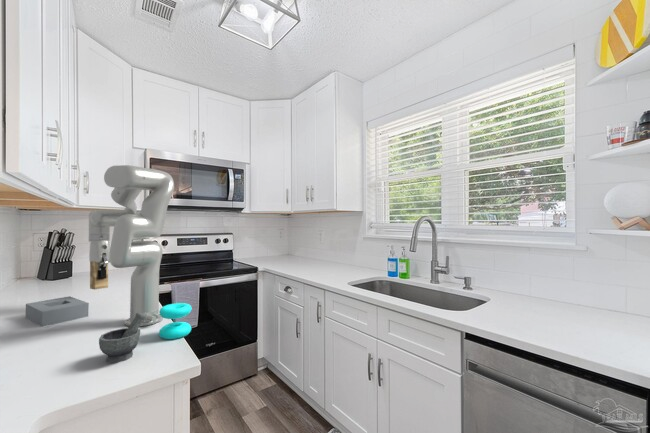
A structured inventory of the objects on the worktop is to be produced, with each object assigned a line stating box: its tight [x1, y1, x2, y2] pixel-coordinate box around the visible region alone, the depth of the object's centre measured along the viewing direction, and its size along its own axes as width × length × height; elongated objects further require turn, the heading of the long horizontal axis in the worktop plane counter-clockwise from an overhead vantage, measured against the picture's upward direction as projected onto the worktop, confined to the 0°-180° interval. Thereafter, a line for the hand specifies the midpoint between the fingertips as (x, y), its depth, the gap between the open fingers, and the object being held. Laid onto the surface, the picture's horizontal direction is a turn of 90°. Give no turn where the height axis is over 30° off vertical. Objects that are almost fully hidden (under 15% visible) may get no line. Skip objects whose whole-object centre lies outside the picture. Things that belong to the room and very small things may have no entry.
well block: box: [25, 295, 90, 328], centre depth 119 cm, size 20×14×6 cm
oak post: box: [89, 261, 109, 291], centre depth 131 cm, size 5×5×12 cm
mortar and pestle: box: [98, 313, 146, 364], centre depth 84 cm, size 11×9×12 cm
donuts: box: [158, 302, 192, 340], centre depth 101 cm, size 10×10×10 cm
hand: (99, 277), depth 131 cm, fingers closed on oak post, 5 cm apart
